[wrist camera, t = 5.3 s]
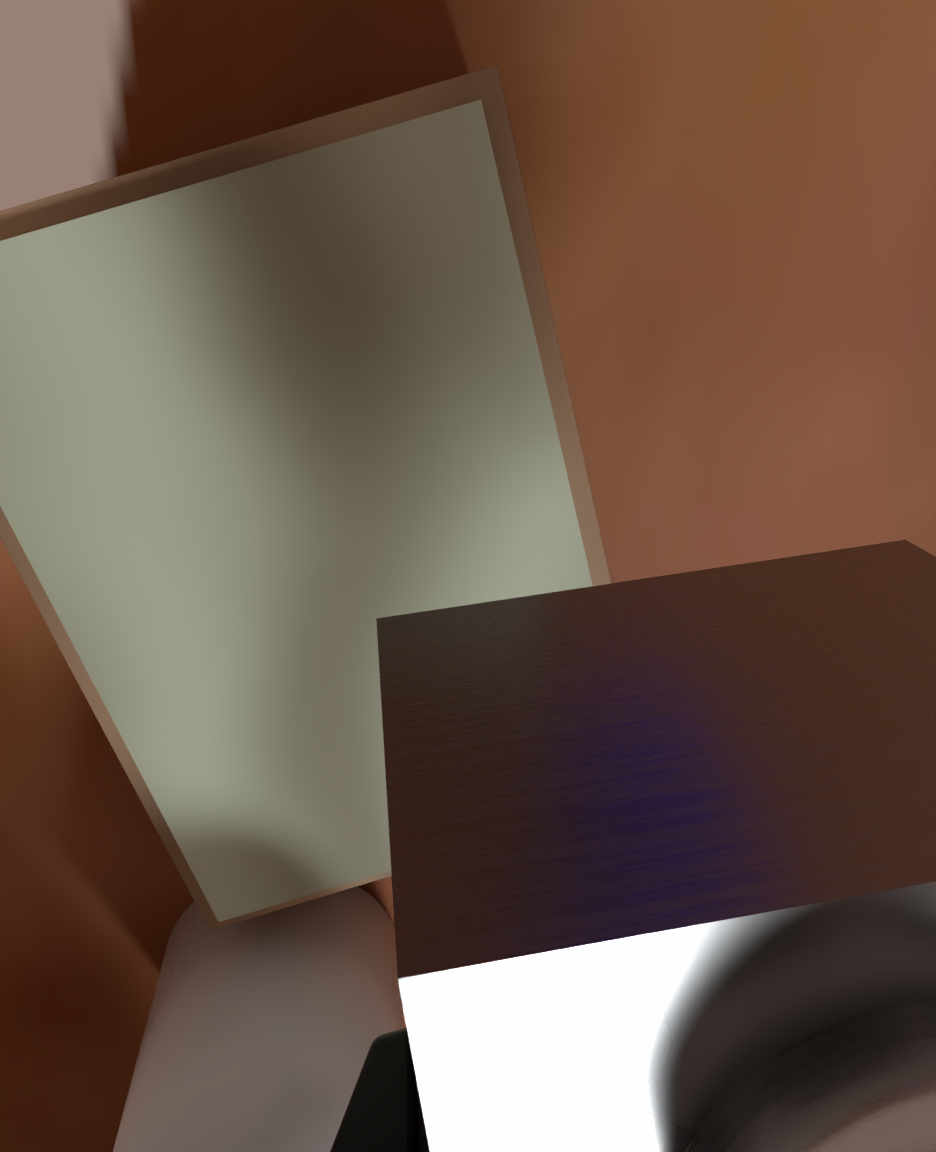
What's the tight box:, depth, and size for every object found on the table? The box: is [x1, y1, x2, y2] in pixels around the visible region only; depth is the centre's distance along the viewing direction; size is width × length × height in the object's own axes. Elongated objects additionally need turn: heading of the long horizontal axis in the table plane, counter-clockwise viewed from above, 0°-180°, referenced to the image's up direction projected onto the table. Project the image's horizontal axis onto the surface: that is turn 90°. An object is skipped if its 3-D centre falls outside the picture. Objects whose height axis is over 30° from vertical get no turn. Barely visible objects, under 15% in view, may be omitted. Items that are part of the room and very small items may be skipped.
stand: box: [0, 65, 611, 930], centre depth 17 cm, size 10×14×3 cm
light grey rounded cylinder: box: [113, 886, 404, 1152], centre depth 19 cm, size 6×6×7 cm
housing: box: [376, 540, 936, 1152], centre depth 7 cm, size 5×8×5 cm, turn 5°
